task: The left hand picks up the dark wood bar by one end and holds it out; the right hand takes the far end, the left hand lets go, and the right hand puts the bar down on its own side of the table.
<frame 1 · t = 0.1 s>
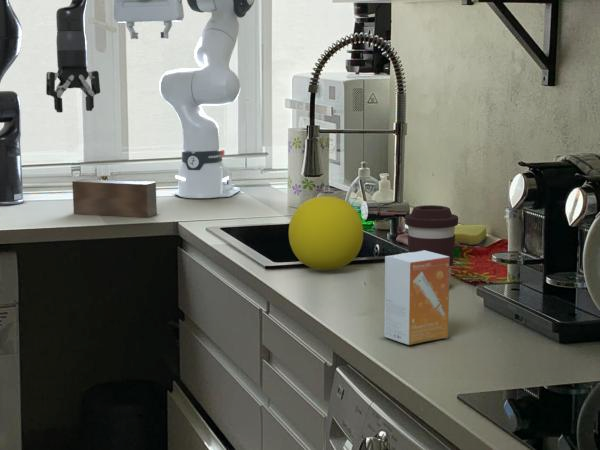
left hand: (74, 111, 273), 29 cm above the worktop, tool pointing down, fingers open, 8 cm apart
right hand: (149, 38, 288), 48 cm above the worktop, tool pointing down, fingers open, 8 cm apart
toy: (325, 270, 214), on the worktop
small box: (416, 338, 163), on the worktop
coffee cup: (430, 287, 198), on the worktop
bar: (115, 214, 289), on the worktop
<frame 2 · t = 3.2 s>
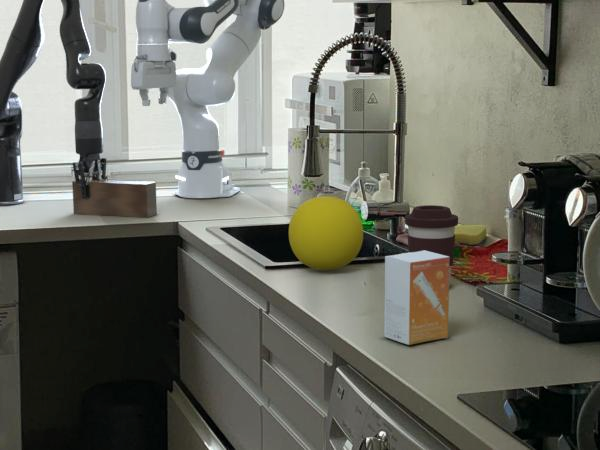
left hand: (91, 196, 291), 5 cm above the worktop, tool pointing down, fingers closed on bar, 5 cm apart
right hand: (154, 105, 292), 30 cm above the worktop, tool pointing down, fingers open, 8 cm apart
bar: (115, 214, 289), on the worktop, touching left hand
everything else where it was.
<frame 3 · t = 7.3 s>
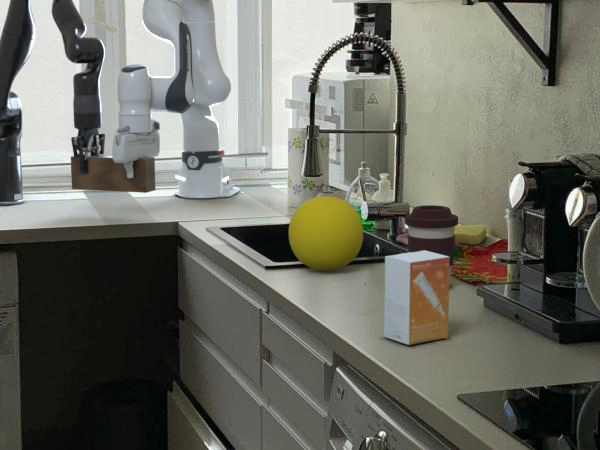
left hand: (89, 172, 290), 12 cm above the worktop, tool pointing down, fingers closed on bar, 5 cm apart
right hand: (137, 176, 285), 11 cm above the worktop, tool pointing down, fingers closed on bar, 5 cm apart
bar: (113, 189, 288), point 7 cm above the worktop, touching left hand, right hand
everything else where it was.
when the left hand's fingers open (12 cm above the worktop, at t = 8.3 s): bar stays where it is, held by the right hand.
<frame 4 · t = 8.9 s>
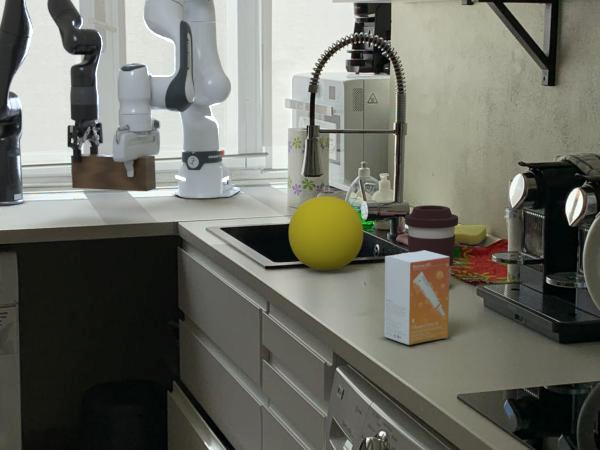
left hand: (86, 161, 290), 14 cm above the worktop, tool pointing down, fingers open, 8 cm apart
right hand: (137, 175, 285), 11 cm above the worktop, tool pointing down, fingers closed on bar, 5 cm apart
bar: (113, 188, 288), point 7 cm above the worktop, touching right hand
everything else where it was.
when the right hand's fingers open (5 cm above the worktop, at t = 19.9 s): bar drops 1 cm, on the worktop.
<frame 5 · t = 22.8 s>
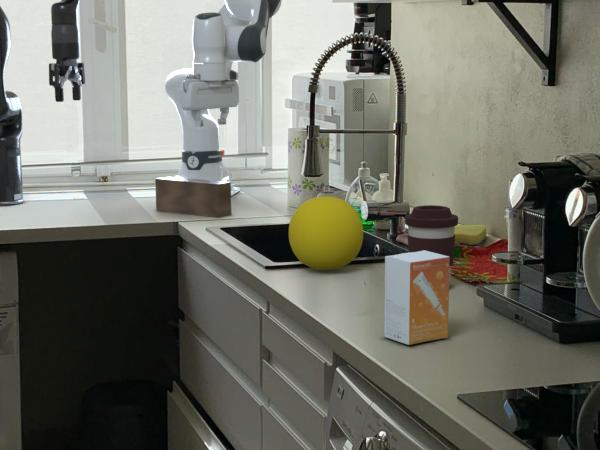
left hand: (68, 101, 289), 31 cm above the worktop, tool pointing down, fingers open, 8 cm apart
right hand: (210, 125, 283), 24 cm above the worktop, tool pointing down, fingers open, 8 cm apart
bar: (193, 212, 291), on the worktop
everything else where it was.
at the end: bar inside the target area (7.3 cm from its centre), on the worktop; the left hand is holding nothing; the right hand is holding nothing; bar at rest at the end (0.0 cm/s) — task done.
